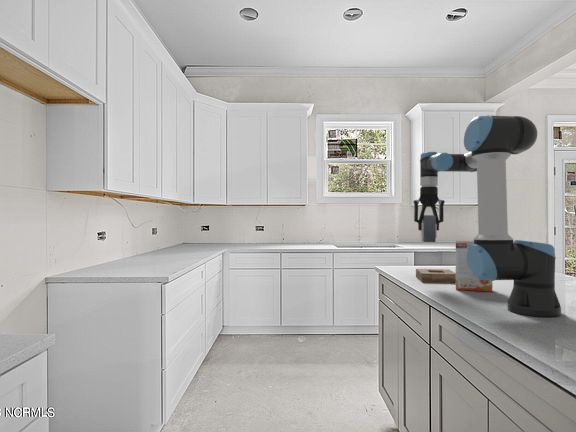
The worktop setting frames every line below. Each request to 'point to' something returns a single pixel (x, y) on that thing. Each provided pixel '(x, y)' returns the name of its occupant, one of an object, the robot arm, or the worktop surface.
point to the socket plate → (436, 275)
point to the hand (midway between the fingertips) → (428, 237)
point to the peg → (429, 228)
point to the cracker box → (467, 270)
